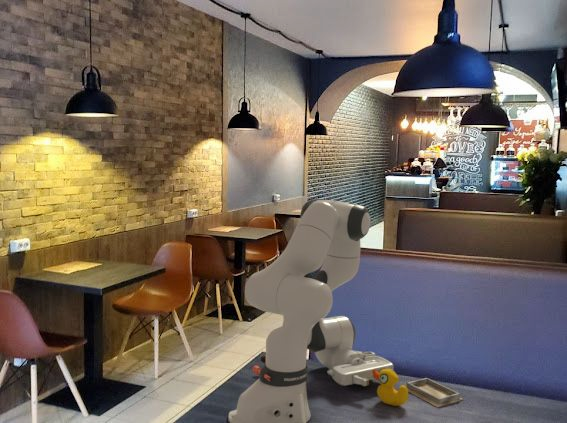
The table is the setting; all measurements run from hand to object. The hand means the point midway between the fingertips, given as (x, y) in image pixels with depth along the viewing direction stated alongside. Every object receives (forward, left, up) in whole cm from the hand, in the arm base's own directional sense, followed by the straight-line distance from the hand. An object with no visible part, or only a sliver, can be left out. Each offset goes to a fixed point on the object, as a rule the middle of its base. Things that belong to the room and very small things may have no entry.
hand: (379, 380), depth 166 cm
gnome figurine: (-17, +28, -5) cm, 33 cm away
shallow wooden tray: (+16, -6, -5) cm, 18 cm away
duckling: (0, -5, -5) cm, 7 cm away
